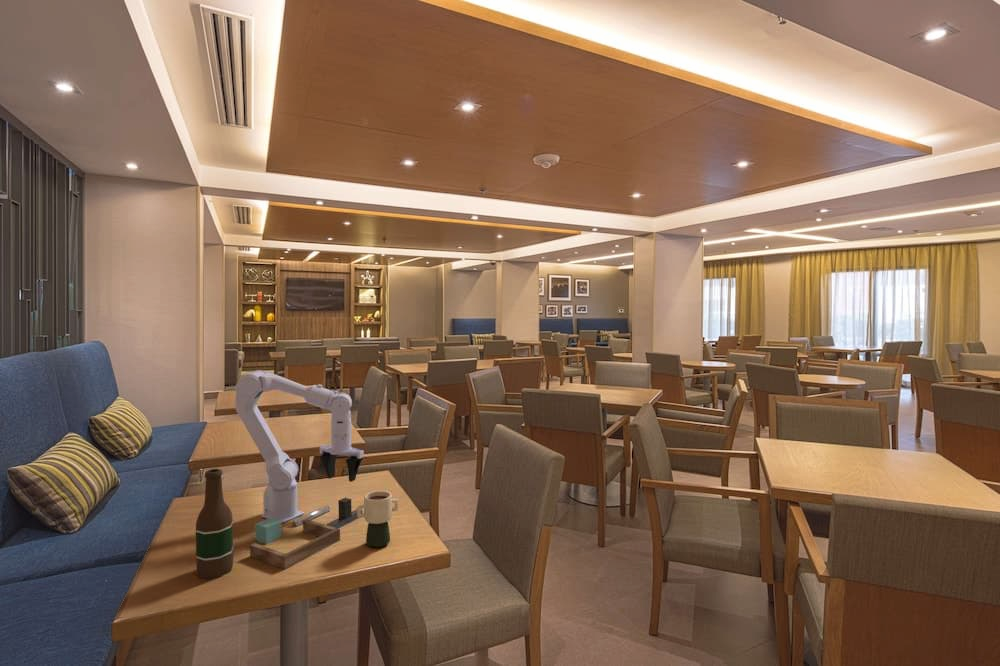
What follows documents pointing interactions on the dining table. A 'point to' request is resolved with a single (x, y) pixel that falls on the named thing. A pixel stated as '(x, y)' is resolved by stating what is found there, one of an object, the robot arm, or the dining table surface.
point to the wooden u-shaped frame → (284, 561)
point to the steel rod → (311, 515)
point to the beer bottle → (214, 531)
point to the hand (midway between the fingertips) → (341, 479)
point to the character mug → (377, 516)
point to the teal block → (268, 530)
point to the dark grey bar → (344, 514)
